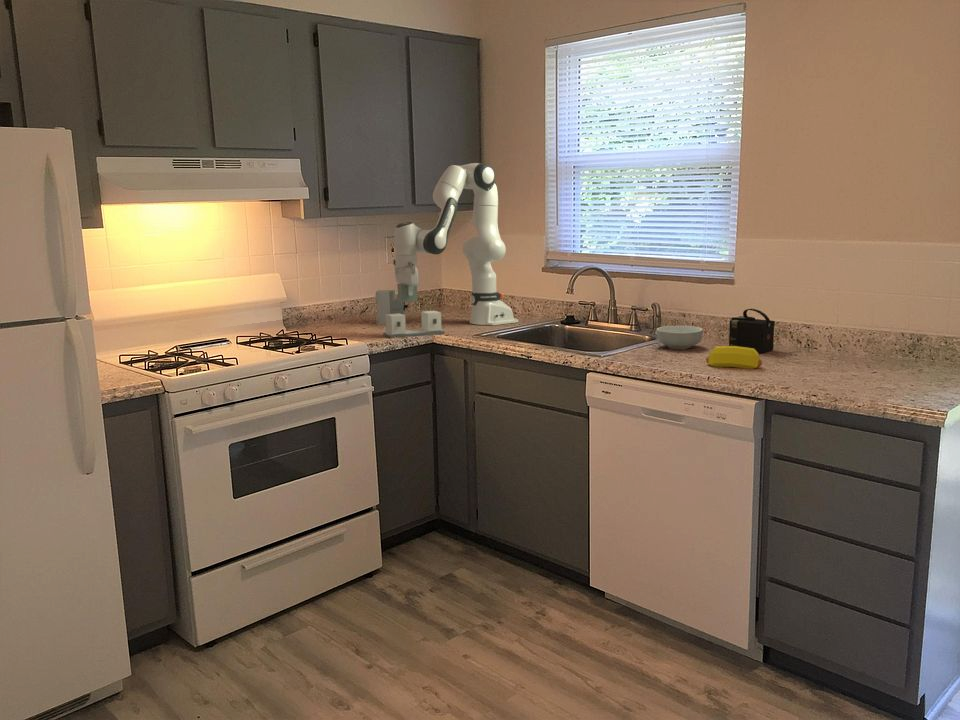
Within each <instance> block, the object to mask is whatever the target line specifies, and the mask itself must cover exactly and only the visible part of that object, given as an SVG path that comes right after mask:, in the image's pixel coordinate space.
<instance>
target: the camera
mask: <svg viewBox="0 0 960 720" xmlns="http://www.w3.org/2000/svg"><path fill="white" fill-rule="evenodd" d="M748 311H753V312H755V313H758V314H759V315H760V316H762V317H763V318H764V319H758V318H755V317H753V316H748V314H747V313H748ZM775 322H776V321H775V320H770V318H769V317H768V315H767V314H766V313H764V312H763V311H761V310H759V309H755V308H747V309H745V310H743V312H742V315H739V316H735V317H731V320H729V329H728V330H729V333H728V346H739V347H746V348H754V349H755V350H756V351H757V352H758V354H764V353H768V352H772V351H774V346H775V345H774V341H775V340H774V339H775V326H776V323H775Z"/></svg>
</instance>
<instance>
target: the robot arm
mask: <svg viewBox="0 0 960 720" xmlns="http://www.w3.org/2000/svg"><path fill="white" fill-rule="evenodd" d="M495 182H496V173H495V169H494V168H493V166H492V165H490V164H488V163H485V162H479V163H478V162H473V163H472V162H471V163H468V164H460V165H455V164H452V165H449V166H448V167H447V168H446V169H445V171H444V172H443V173H442V175H441V176H440V178H438V182H437V183H436V185H435V187H434V190H433V193H432V199H433V202H434V204H435V205H436V206H437V207H439V208H440V214H439V217H438V219H437V222H436V225H435V226H434V227H433V228H432V229H423V228H420V227H419V226H417V225H416V224H415V223H414V222H410V221H408V222H402V223H399V224H397V225H396V226H395V229H394V247H395V258H394V259H393V261H392V264H393V266H394V275H395V277H394V278H395V281H396V283H403V284H406V285H408V295H409V296H412V295H413V288H414V286H416V285H417V286H419V282H420V281H419V270H418V267H416V266H418V259H417V255H418V254H417V253H423V254H431V255H434V256H435V255H440V254H442V253H443V252H444V251H445V250H446V247H447V244H448V239H449V238H448V237H449V235H450V231H451V228H452V226H453V224H454V223H453V222H454V220H455V217H456V215H457V212H458V206H459V204H458V202H459V200H460V199H459V198H460V197H461V195H462V192H463V190H472V191H473V194H474V196H473V207H472V208H473V211H472V213H473V215H472V223H473V225H474V227H475V230H476V231H477V236H474V237H473V236H472V237H469V238H468V239H466V240H465V241H464V242H463V245H462V252H463V255H464V256H465V258H466V260H467V262H468V266H469V269H470V272H471V289H472V292H471V296H470V298H471V314H470V319H469V324H472V325H478V326H479V325H480V326H481V325H482V326H483V325H484V326H485V325H487V326H498V325H507V324H513V323H514V324H516V323H518V322H519V319H517V318H516V317H514V312H513V309H512V308H511V306H508V304H506V303H505V302H504V301H503V300H501V298H504V296H505V293H503V292H498V291H497V287H498V286H497V273H496V272H495V270H494V269H493V267H492V263H494V262H499V261H500V260H503V258H504V257H505V255H506V253H507V252H506V250H507V247H506V245H505V242H504V241H503V240H502V238H501V234H500V231H499V225H498V223H499V222H498V221H499V219H498V218H499V216H498V215H499V192H498V186H497V185H496V183H495Z"/></svg>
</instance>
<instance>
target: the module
mask: <svg viewBox="0 0 960 720" xmlns="http://www.w3.org/2000/svg"><path fill="white" fill-rule="evenodd" d="M396 285H397V298H398V301H399V302H405V303H411V302H418V285H416V286H414V288H413V295H412V296H409V295H408V285H406V284H403V283H399V282H397V283H396Z"/></svg>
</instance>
